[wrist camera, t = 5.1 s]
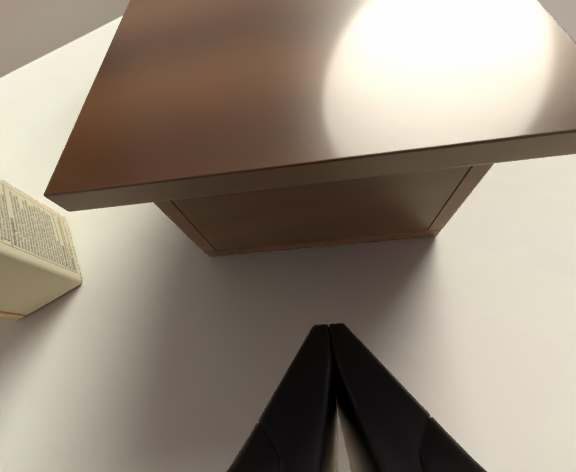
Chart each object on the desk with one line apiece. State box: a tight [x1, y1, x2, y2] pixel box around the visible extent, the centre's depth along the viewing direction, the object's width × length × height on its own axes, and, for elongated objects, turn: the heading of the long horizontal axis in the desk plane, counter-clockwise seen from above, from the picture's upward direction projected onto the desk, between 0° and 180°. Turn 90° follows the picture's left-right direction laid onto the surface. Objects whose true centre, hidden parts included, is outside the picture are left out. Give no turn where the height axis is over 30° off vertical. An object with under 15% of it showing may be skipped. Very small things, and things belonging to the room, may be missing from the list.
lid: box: [44, 0, 576, 212], centre depth 9 cm, size 12×14×1 cm
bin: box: [153, 163, 494, 257], centre depth 14 cm, size 9×14×9 cm, turn 92°
